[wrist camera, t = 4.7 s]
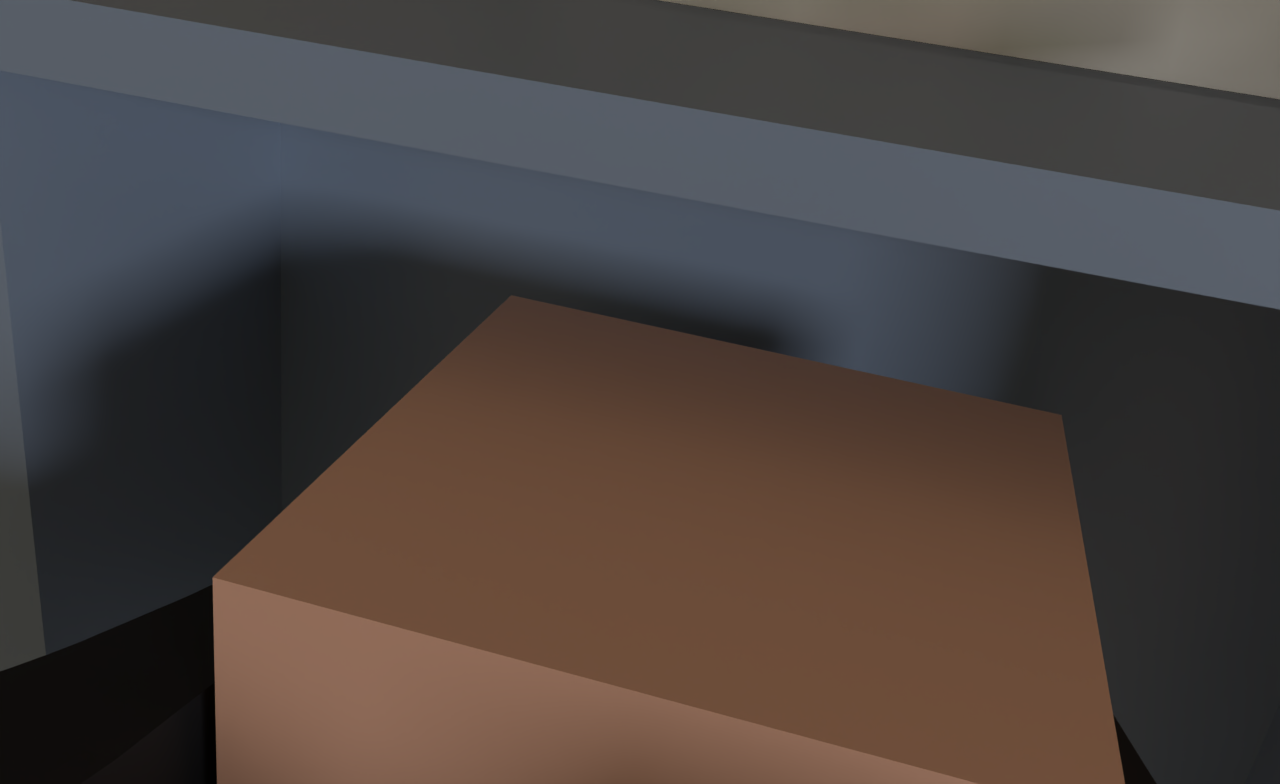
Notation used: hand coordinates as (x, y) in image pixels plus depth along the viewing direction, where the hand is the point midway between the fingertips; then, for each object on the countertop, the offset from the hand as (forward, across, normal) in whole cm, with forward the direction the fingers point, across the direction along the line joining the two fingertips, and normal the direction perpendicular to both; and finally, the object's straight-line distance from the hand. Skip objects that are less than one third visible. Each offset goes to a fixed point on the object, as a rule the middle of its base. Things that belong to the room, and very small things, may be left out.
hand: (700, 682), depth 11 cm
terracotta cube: (+2, 0, 0) cm, 2 cm away
